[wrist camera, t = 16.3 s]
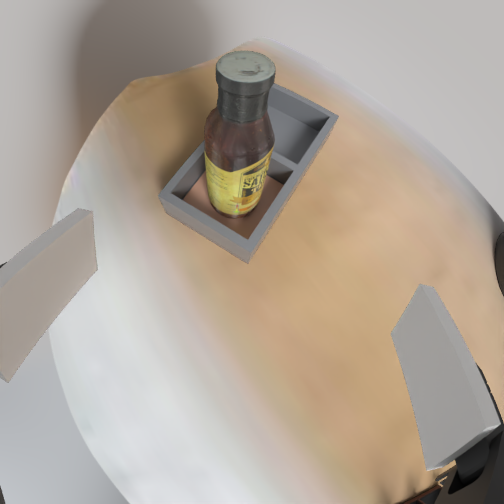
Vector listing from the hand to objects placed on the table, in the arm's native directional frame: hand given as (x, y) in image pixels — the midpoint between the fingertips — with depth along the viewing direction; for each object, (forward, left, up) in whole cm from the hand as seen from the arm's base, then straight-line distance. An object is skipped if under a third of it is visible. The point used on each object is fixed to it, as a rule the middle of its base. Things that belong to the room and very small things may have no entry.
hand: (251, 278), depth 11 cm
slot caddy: (+8, -17, -23) cm, 30 cm away
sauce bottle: (+8, -12, -22) cm, 26 cm away
